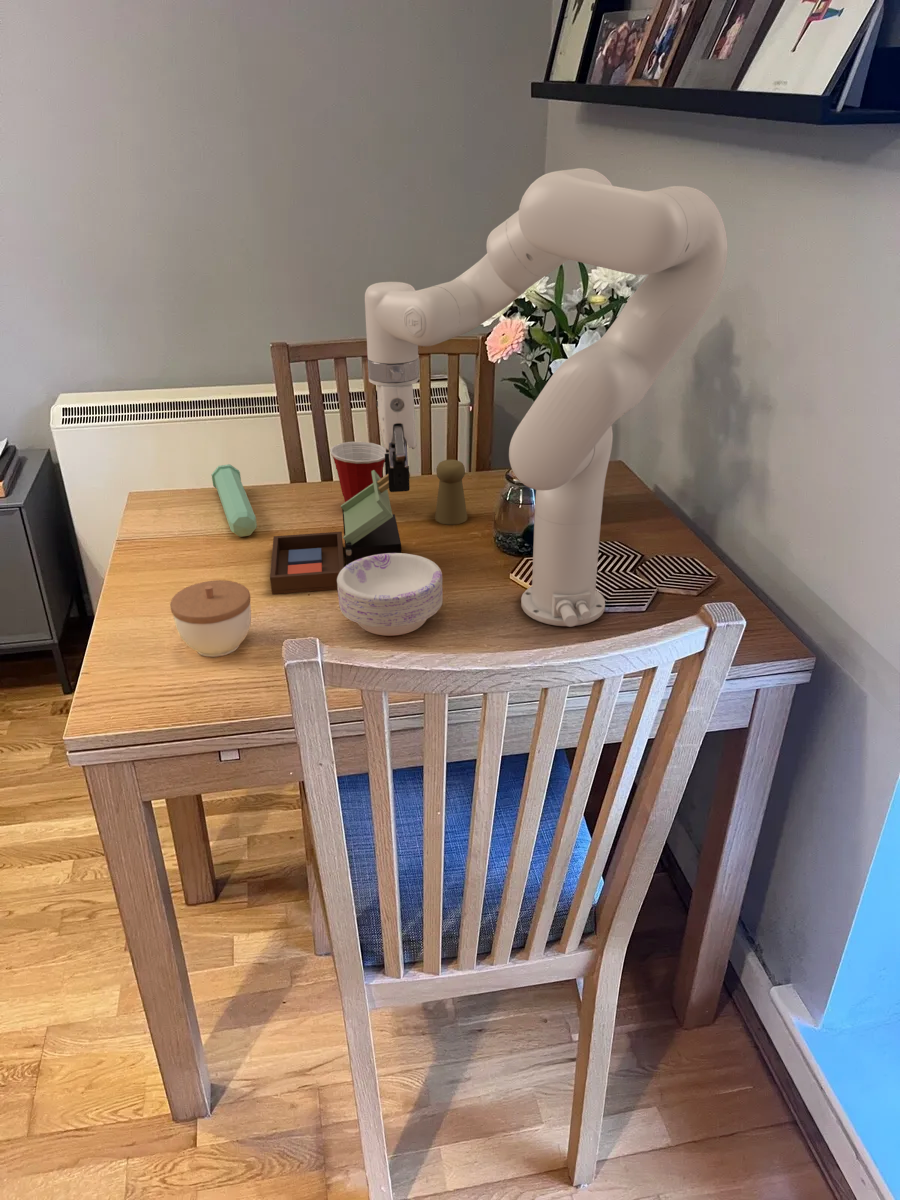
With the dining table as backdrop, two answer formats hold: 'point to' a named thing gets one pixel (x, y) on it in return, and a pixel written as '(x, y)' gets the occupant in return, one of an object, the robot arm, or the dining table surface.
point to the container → (234, 500)
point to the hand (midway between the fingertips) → (397, 482)
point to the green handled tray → (367, 509)
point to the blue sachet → (305, 556)
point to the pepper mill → (450, 493)
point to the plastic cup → (357, 465)
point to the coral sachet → (304, 568)
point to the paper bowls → (390, 592)
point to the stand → (375, 542)
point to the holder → (313, 580)
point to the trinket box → (212, 616)
